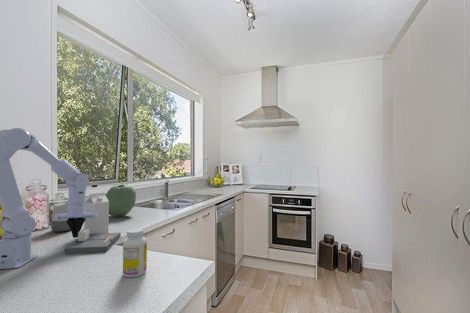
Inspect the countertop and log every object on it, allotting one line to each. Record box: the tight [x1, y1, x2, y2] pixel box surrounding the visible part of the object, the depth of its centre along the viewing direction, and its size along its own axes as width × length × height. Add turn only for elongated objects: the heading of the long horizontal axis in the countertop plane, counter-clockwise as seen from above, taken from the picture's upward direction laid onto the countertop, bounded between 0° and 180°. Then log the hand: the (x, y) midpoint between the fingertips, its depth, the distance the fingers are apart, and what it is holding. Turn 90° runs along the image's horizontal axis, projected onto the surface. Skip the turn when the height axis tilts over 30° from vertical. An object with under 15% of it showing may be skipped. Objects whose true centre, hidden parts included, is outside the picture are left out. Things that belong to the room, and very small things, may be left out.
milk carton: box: [83, 191, 110, 234], centre depth 109 cm, size 7×7×19 cm
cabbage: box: [105, 183, 137, 218], centre depth 146 cm, size 16×19×20 cm
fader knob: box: [77, 228, 89, 241], centre depth 95 cm, size 4×2×4 cm, turn 11°
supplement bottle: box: [122, 227, 148, 278], centre depth 71 cm, size 7×7×13 cm
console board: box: [64, 232, 121, 255], centre depth 95 cm, size 18×14×3 cm
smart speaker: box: [50, 202, 71, 233], centre depth 115 cm, size 10×9×14 cm
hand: (75, 236), depth 94 cm, fingers closed
